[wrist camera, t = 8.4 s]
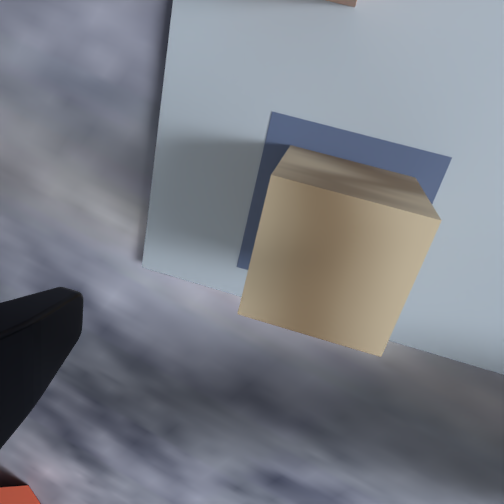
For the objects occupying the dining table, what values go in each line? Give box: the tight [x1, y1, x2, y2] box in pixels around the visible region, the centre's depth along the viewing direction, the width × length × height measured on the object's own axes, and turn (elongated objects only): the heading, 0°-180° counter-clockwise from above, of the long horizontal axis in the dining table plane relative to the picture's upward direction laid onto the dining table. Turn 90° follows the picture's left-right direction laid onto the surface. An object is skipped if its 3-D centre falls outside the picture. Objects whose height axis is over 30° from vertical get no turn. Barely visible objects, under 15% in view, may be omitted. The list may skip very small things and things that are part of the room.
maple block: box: [238, 145, 442, 357], centre depth 16 cm, size 5×5×5 cm
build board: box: [142, 0, 504, 375], centre depth 15 cm, size 24×18×1 cm
